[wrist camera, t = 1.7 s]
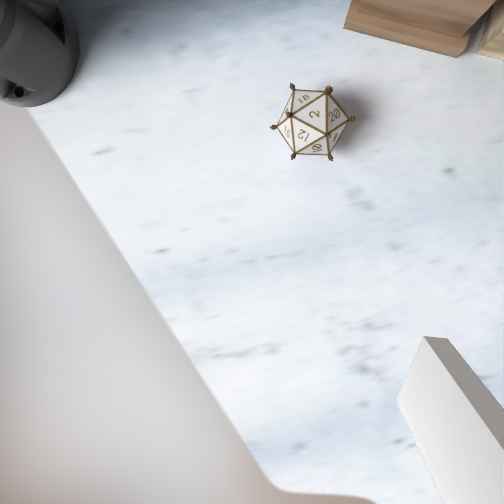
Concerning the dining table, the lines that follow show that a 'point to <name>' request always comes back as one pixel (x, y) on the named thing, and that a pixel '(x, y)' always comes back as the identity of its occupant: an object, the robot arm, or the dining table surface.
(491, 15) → the zigzag grain block
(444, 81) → the dining table surface
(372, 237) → the dining table surface
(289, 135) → the game die
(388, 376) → the dining table surface
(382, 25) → the walnut stand
